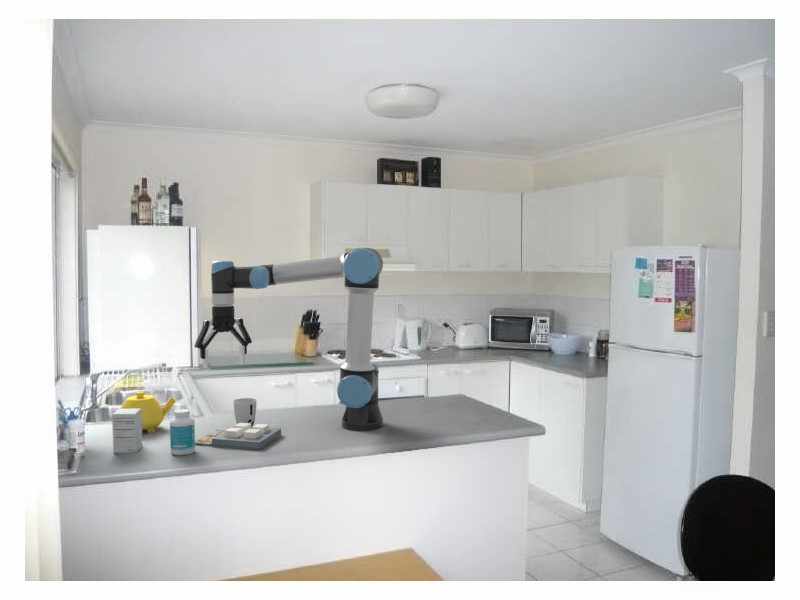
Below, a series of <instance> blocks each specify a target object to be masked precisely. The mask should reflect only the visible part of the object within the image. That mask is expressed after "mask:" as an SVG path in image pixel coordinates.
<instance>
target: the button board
mask: <svg viewBox="0 0 800 600" xmlns="http://www.w3.org/2000/svg"><path fill="white" fill-rule="evenodd" d="M231 428H234V426H233V427H231ZM251 429H252V427H251ZM279 436H280V437H281V436H282V428H280V427H279V428H278V427H269V432H267V433H265V434H261V437H259V438H258V439H243V433H242V436H240V437H238V438H229V437H225V432H223V433H221V434H219V435H218V436H216V437H214V438H212V445H211V446H212V447H215V448H216V447H218V448H232V449H243V450H260V451H261V450H262V449H264V448H265V447H266V445H267V446H268V445H269V444H271V443H273V442H274V441H275V440H277V439H278V438H280V437H279ZM276 438H277V439H276ZM263 447H264V448H263Z"/></svg>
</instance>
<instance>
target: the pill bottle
mask: <svg viewBox="0 0 800 600" xmlns="http://www.w3.org/2000/svg"><path fill="white" fill-rule="evenodd" d="M173 411H174V412H173V413H174V415H173V416H174V417H172V418H171V419H170V420H169V421H170V422H169V434H170V437H169V440H170V454H172V456H173V455H174V456H187V455H190V454H193V453H194V452H195V451H196V445H195V441H196V434H195V433H196V432H195V431H196V430H195V419H194V417H192V416H190V414H191V413H190V412H191V411H190V409H186V408H185V409H183V408H182V409H175V410H173Z"/></svg>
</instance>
